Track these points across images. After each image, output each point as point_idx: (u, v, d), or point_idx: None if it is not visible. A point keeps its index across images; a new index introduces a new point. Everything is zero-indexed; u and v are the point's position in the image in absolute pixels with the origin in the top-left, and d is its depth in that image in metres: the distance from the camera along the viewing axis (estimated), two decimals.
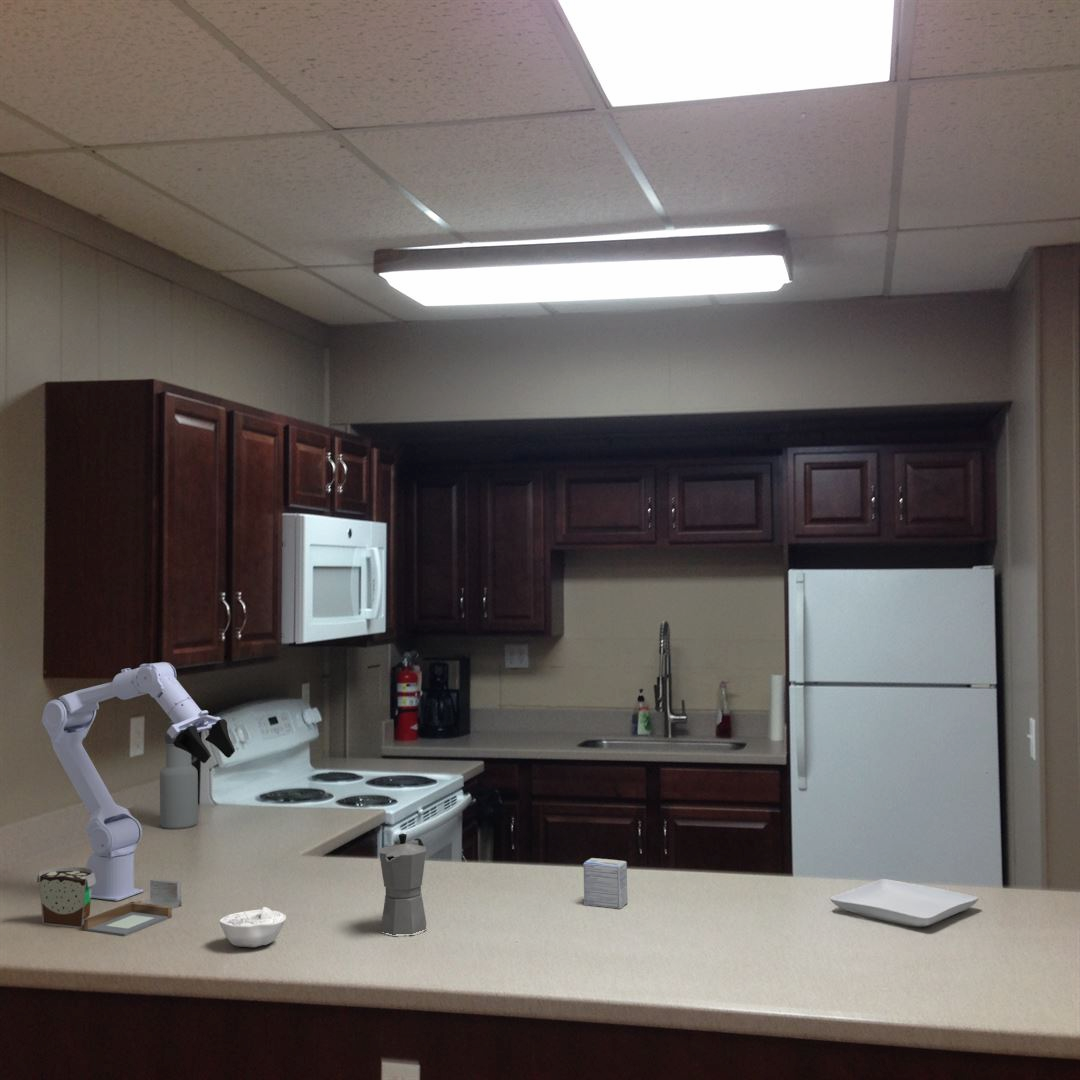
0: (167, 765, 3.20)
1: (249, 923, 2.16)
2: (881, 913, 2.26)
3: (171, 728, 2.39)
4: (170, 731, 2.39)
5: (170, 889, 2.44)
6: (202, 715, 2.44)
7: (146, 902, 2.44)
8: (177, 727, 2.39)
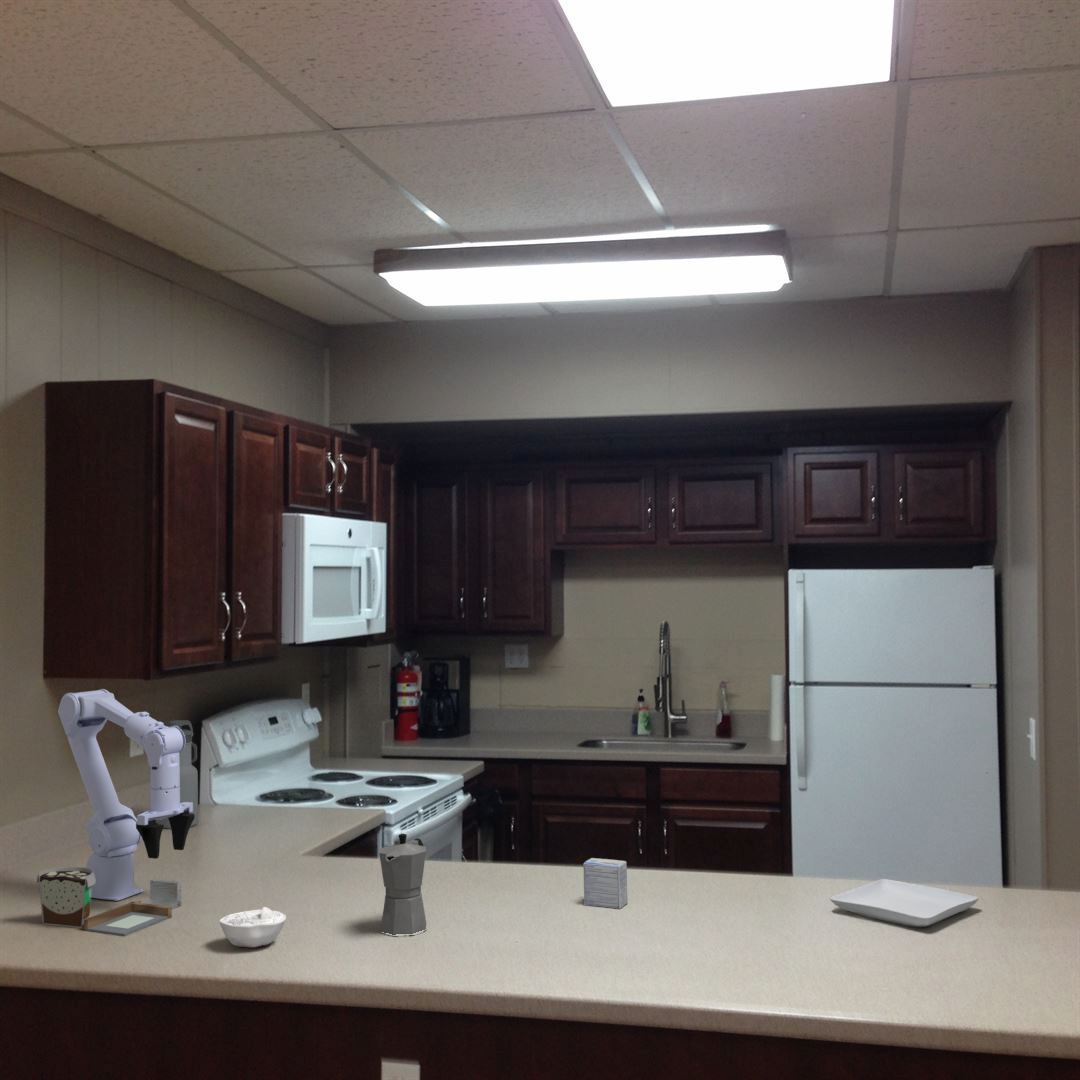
0: None
1: (249, 923, 2.16)
2: (881, 913, 2.26)
3: (142, 817, 2.39)
4: (139, 818, 2.39)
5: (170, 889, 2.44)
6: None
7: (146, 902, 2.44)
8: (147, 819, 2.39)
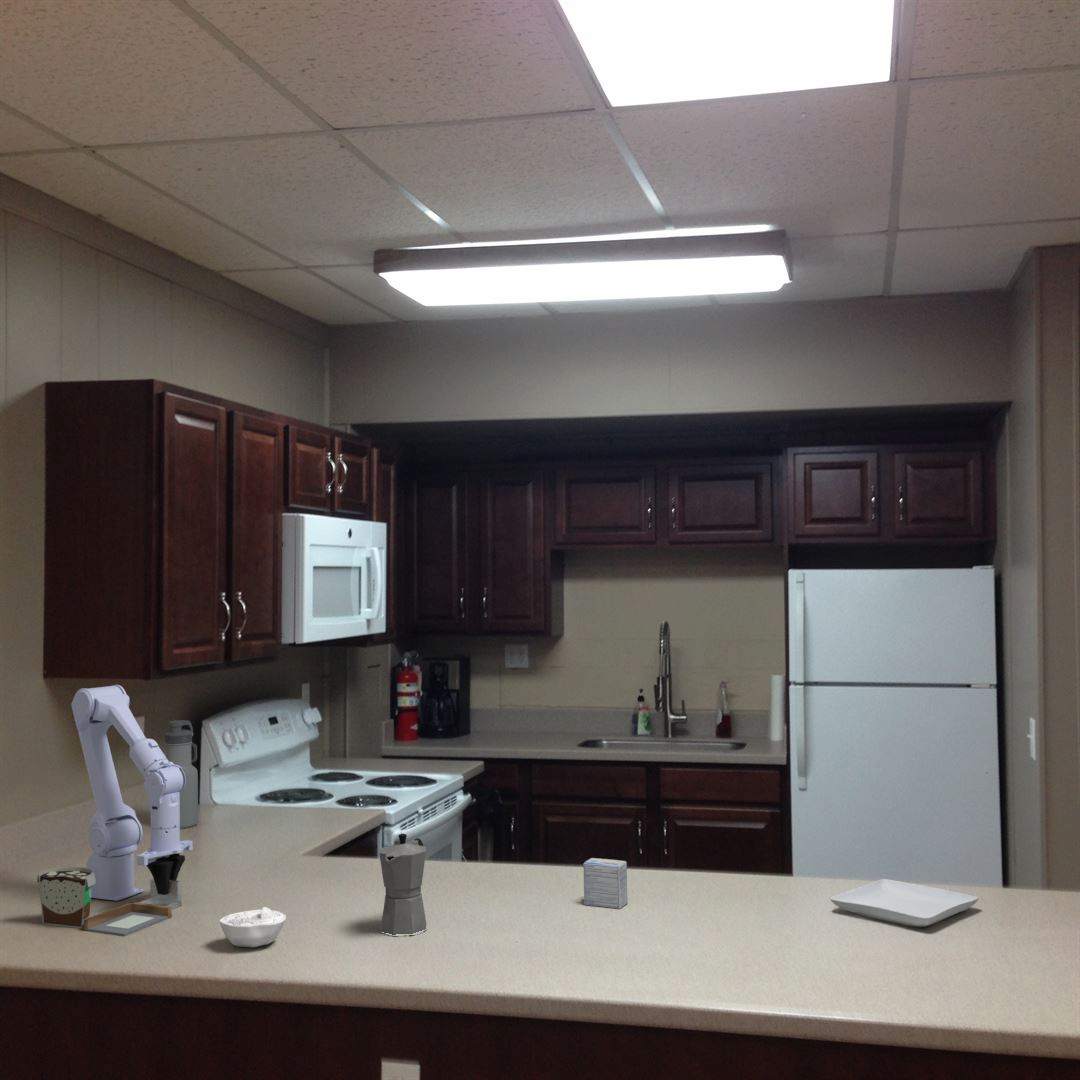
0: None
1: (249, 923, 2.16)
2: (881, 913, 2.26)
3: (142, 858, 2.39)
4: (139, 859, 2.39)
5: (170, 888, 2.44)
6: None
7: (146, 901, 2.44)
8: (147, 859, 2.39)
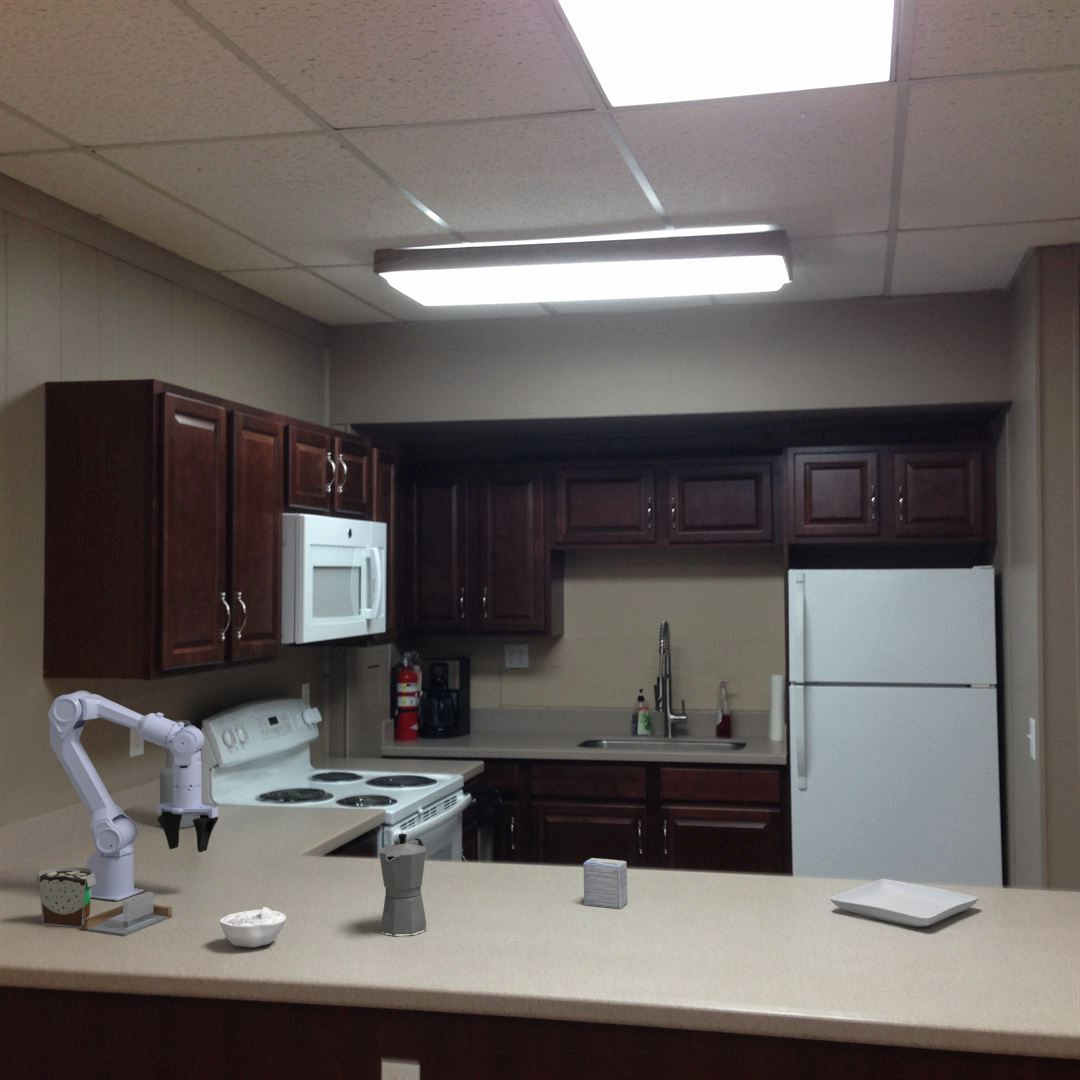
0: (167, 765, 3.20)
1: (249, 923, 2.16)
2: (881, 913, 2.26)
3: None
4: None
5: None
6: (175, 811, 2.51)
7: None
8: (160, 808, 2.55)
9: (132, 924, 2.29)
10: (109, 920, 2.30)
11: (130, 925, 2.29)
